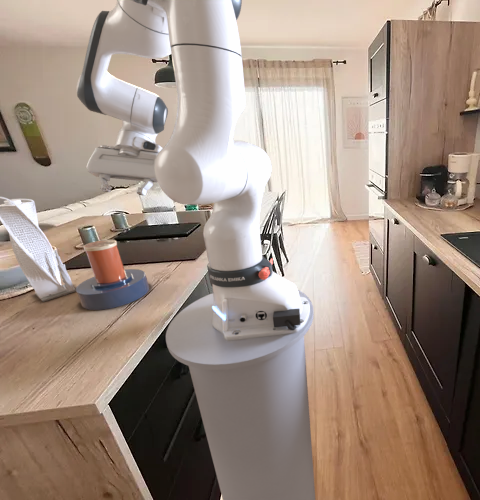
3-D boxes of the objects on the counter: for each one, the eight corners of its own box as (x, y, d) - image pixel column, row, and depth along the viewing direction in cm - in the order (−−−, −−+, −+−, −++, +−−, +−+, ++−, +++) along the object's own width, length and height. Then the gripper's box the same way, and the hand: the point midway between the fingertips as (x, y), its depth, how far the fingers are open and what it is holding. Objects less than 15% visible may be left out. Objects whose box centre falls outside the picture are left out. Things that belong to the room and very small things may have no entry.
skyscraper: (35, 304, 76) (-13, 198, 66) (27, 295, 80) (-20, 195, 70) (76, 291, 82) (38, 193, 72) (67, 283, 86) (29, 190, 76)
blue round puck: (160, 282, 87) (156, 266, 85) (124, 310, 73) (118, 291, 71) (111, 282, 87) (106, 266, 85) (65, 310, 73) (58, 291, 71)
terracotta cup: (132, 272, 81) (122, 239, 78) (114, 284, 75) (102, 248, 71) (109, 272, 81) (97, 239, 78) (88, 284, 75) (75, 248, 71)
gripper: (87, 137, 79) (73, 183, 75) (165, 146, 80) (154, 191, 77) (104, 150, 85) (92, 193, 82) (176, 158, 86) (166, 200, 83)
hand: (123, 192), depth 79 cm, fingers open, 8 cm apart
